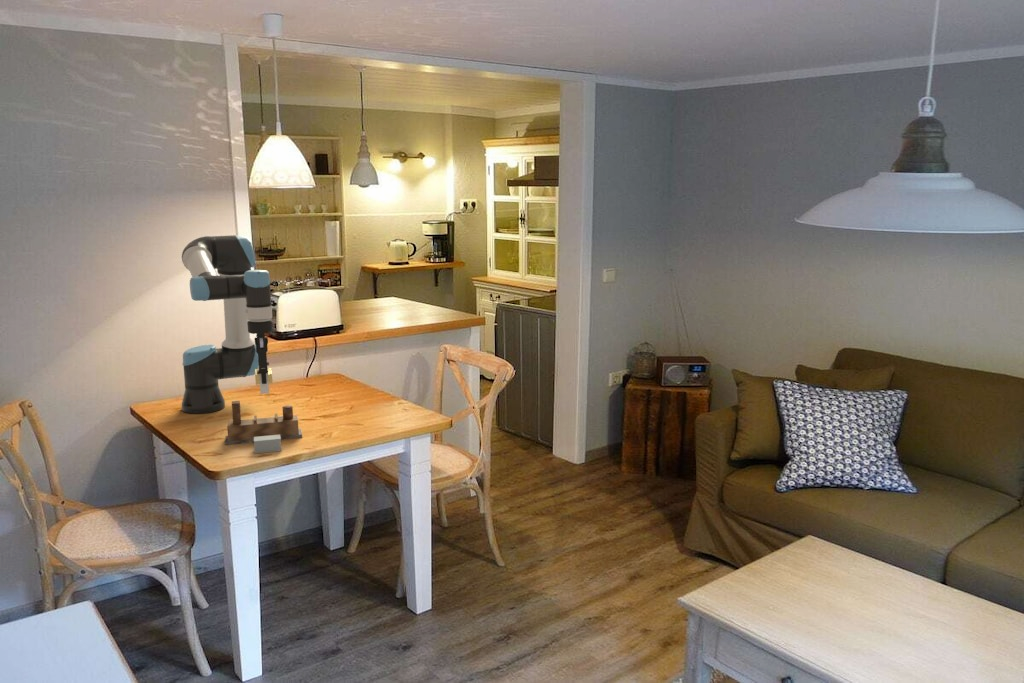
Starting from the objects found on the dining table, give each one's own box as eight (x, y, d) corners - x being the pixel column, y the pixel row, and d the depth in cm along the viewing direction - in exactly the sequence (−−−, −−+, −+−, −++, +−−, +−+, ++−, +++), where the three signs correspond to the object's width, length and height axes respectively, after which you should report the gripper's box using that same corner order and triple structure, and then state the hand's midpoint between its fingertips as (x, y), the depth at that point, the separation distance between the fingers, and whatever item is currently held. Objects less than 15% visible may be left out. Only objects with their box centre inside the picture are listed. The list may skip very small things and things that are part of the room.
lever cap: (255, 384, 237) (255, 373, 236) (255, 378, 245) (254, 367, 244) (272, 383, 238) (271, 372, 238) (271, 376, 247) (271, 366, 246)
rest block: (254, 449, 242) (253, 437, 241) (280, 446, 244) (280, 434, 244) (254, 453, 238) (253, 441, 237) (281, 450, 240) (280, 438, 240)
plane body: (225, 444, 246) (222, 406, 243) (225, 438, 252) (222, 400, 249) (302, 437, 253) (300, 399, 251) (300, 431, 259) (298, 394, 256)
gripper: (247, 315, 247) (251, 382, 251) (247, 325, 227) (252, 399, 231) (271, 314, 249) (275, 381, 254) (273, 324, 229) (278, 396, 233)
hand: (264, 389), depth 242 cm, fingers closed on lever cap, 9 cm apart
